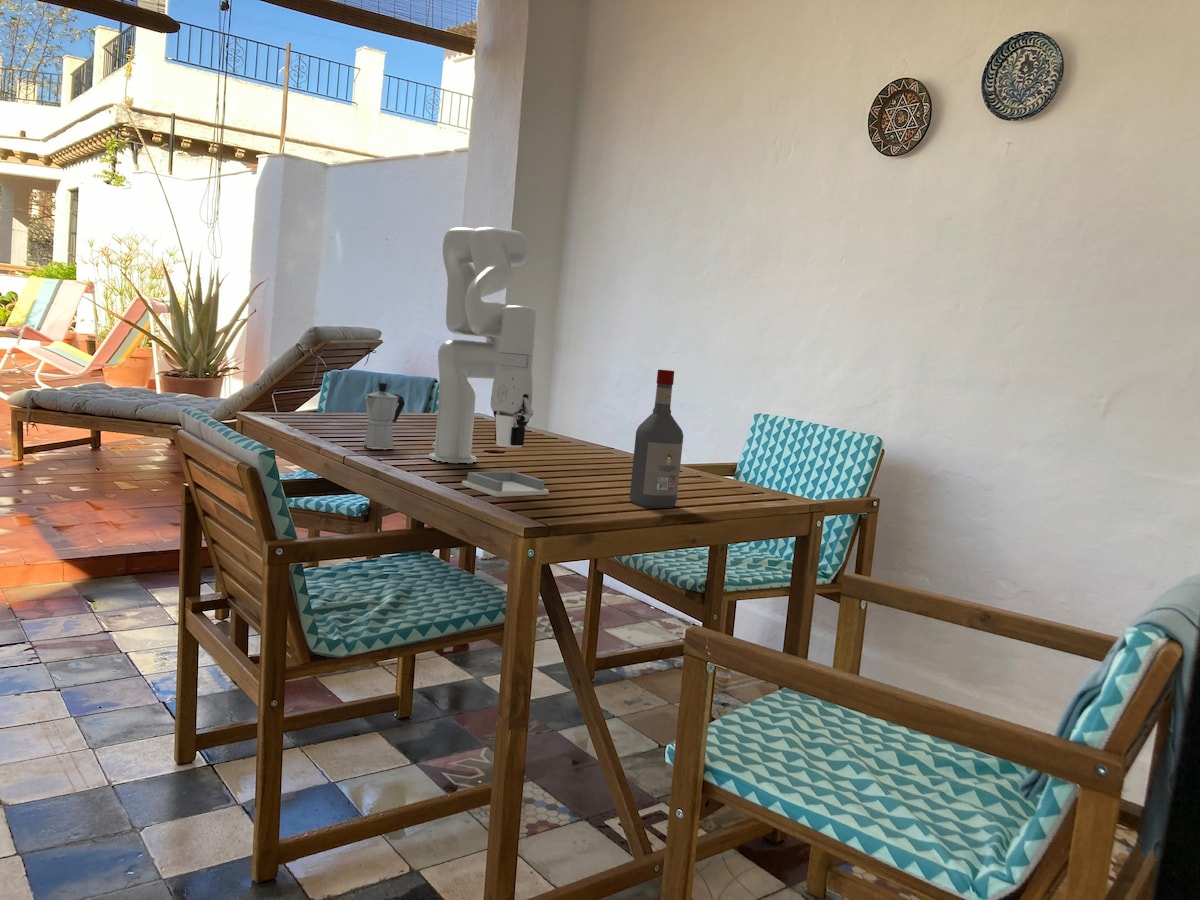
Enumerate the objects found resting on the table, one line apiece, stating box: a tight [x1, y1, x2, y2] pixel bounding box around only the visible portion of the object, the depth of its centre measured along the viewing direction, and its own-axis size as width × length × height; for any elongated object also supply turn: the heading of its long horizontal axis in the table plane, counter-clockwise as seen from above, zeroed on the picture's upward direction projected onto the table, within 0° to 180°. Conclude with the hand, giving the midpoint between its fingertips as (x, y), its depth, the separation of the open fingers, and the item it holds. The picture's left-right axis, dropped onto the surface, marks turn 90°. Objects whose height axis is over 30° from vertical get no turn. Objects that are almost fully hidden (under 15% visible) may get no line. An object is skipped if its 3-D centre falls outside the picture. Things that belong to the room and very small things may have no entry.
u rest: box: [461, 470, 550, 498], centre depth 211 cm, size 14×14×3 cm
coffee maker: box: [363, 382, 405, 448], centre depth 258 cm, size 15×9×18 cm, turn 148°
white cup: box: [495, 414, 523, 449], centre depth 209 cm, size 7×7×7 cm
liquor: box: [629, 369, 684, 509], centre depth 208 cm, size 9×9×30 cm
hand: (509, 442), depth 209 cm, fingers closed on white cup, 5 cm apart
